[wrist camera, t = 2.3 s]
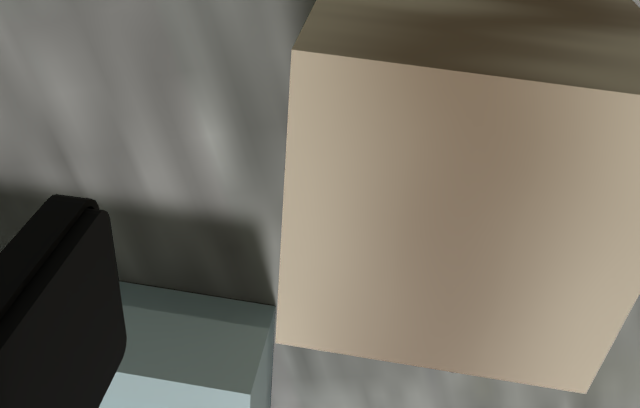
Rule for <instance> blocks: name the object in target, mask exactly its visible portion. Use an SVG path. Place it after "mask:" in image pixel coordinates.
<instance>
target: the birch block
mask: <svg viewBox="0 0 640 408" xmlns="http://www.w3.org/2000/svg"><path fill="white" fill-rule="evenodd" d="M639 294H640V8H639V7H638V6H637V5H636V4H635V3H634V2H633V1H632V0H316V2H315V4H314V6H313V8H312V10H311V12H310V14H309V16H308V18H307V20H306V22H305V24H304V26H303V28H302V30H301V32H300V34H299V36H298V38H297V40H296V42H295V44H294V46H293V48H292V53H291V71H290V89H289V107H288V125H287V144H286V162H285V180H284V198H283V216H282V234H281V252H280V270H279V288H278V306H277V324H276V342H275V343H278V344H284V345H290V346H296V347H302V348H308V349H315V350H321V351H327V352H333V353H339V354H345V355H351V356H357V357H363V358H370V359H376V360H382V361H388V362H394V363H400V364H406V365H412V366H418V367H425V368H431V369H437V370H443V371H449V372H455V373H461V374H467V375H473V376H479V377H486V378H492V379H498V380H504V381H510V382H516V383H522V384H528V385H534V386H541V387H547V388H553V389H559V390H565V391H571V392H577V393H583V394H586V393H587V391H588V389H589V387H590V385H591V383H592V381H593V380H594V378H595V376H596V374H597V372H598V370H599V368H600V367H601V365H602V363H603V361H604V359H605V357H606V355H607V353H608V352H609V350H610V348H611V346H612V344H613V342H614V340H615V339H616V337H617V335H618V333H619V331H620V329H621V327H622V326H623V324H624V322H625V320H626V318H627V316H628V314H629V313H630V311H631V309H632V307H633V305H634V303H635V301H636V300H637V298H638V296H639Z"/></svg>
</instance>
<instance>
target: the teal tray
mask: <svg viewBox="0 0 640 408" xmlns="http://www.w3.org/2000/svg"><path fill="white" fill-rule="evenodd" d="M119 285H120V292H121V299H122V306H123V313H124V320H125V327H126V334H127V343H126V349H125V353H124V357H123V359H122V361H121V363H120V365H119V367H118V369H117V371H116V373H115V376H114V378H113V380H112V382H111V384H110V386H109V388H108V390H107V392H106V394H105V396H104V398H103V400H102V402H101V404H100V406H99V408H270V406H271V386H272V367H273V347H274V328H275V308H276V306H271V305H264V304H258V303H252V302H246V301H239V300H233V299H227V298H221V297H214V296H208V295H202V294H196V293H189V292H183V291H177V290H171V289H164V288H158V287H152V286H146V285H139V284H133V283H127V282H121V281H119Z"/></svg>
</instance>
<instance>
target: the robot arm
mask: <svg viewBox="0 0 640 408" xmlns="http://www.w3.org/2000/svg"><path fill="white" fill-rule="evenodd" d="M126 343H127V334H126V327H125V320H124V313H123V306H122V299H121V292H120V285H119V278H118V271H117V264H116V257H115V250H114V243H113V236H112V229H111V222H110V217H109V214H108V212H107V211H105V210H99V206H98V204H97V202H96V201H95V200H93V199H88V198H81V197H73V196H65V195H58V194H56V195H52V196H51V197H50V198H49V199H47V201H46V202H45V203H44V204H43V205H42V206H41V207H40V209H39V210H38V211H37V212H36V213H35V214H34V215H33V216H32V218H31V219H30V220H29V221H28V222H27V223H26V224H25V226H24V227H23V228H22V229H21V230H20V231H19V232H18V233H17V235H16V236H15V237H14V238H13V239H12V240H11V241H10V243H9V244H8V245H7V246H6V247H5V248H4V249H3V250H2V252H1V253H0V408H99V406H100V404H101V402H102V400H103V398H104V396H105V394H106V392H107V390H108V388H109V386H110V384H111V382H112V380H113V378H114V376H115V373H116V371H117V369H118V367H119V365H120V363H121V361H122V359H123V357H124V353H125V349H126Z"/></svg>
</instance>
